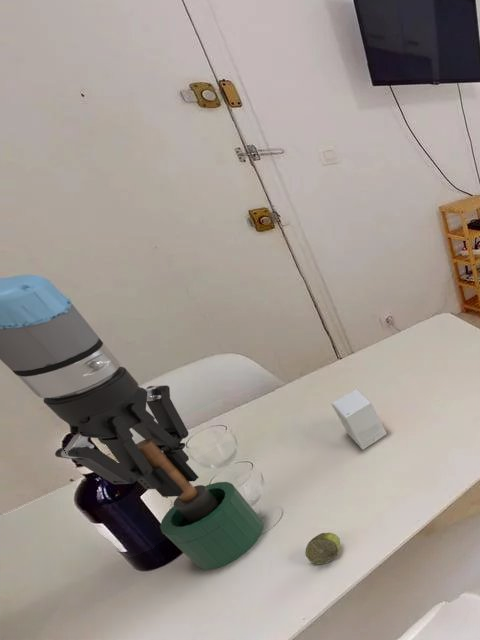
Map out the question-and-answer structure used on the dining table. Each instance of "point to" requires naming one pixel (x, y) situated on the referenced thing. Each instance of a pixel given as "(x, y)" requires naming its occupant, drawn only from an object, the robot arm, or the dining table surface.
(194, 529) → the green tube ring
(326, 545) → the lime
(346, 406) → the small box
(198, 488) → the brown and grey pestle
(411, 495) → the dining table surface
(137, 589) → the dining table surface
